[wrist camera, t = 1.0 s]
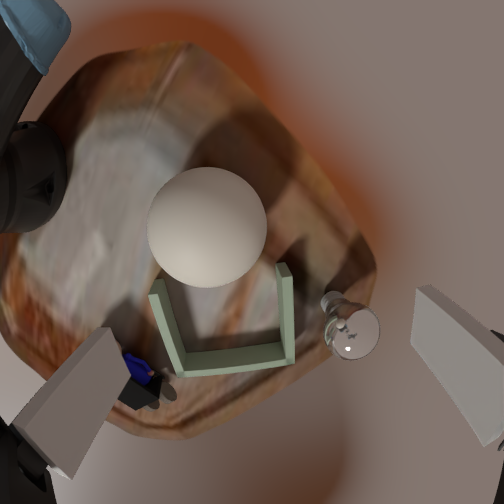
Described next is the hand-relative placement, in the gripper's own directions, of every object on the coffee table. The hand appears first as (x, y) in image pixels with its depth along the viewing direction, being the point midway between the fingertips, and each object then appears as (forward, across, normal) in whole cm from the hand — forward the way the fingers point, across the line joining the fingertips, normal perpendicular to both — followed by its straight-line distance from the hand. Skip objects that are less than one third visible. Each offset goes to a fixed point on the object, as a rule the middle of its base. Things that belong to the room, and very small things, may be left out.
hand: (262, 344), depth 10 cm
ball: (+17, -5, +2) cm, 18 cm away
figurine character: (+24, -23, -18) cm, 38 cm away
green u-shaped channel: (+24, -6, -11) cm, 27 cm away
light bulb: (+26, +8, -11) cm, 30 cm away
